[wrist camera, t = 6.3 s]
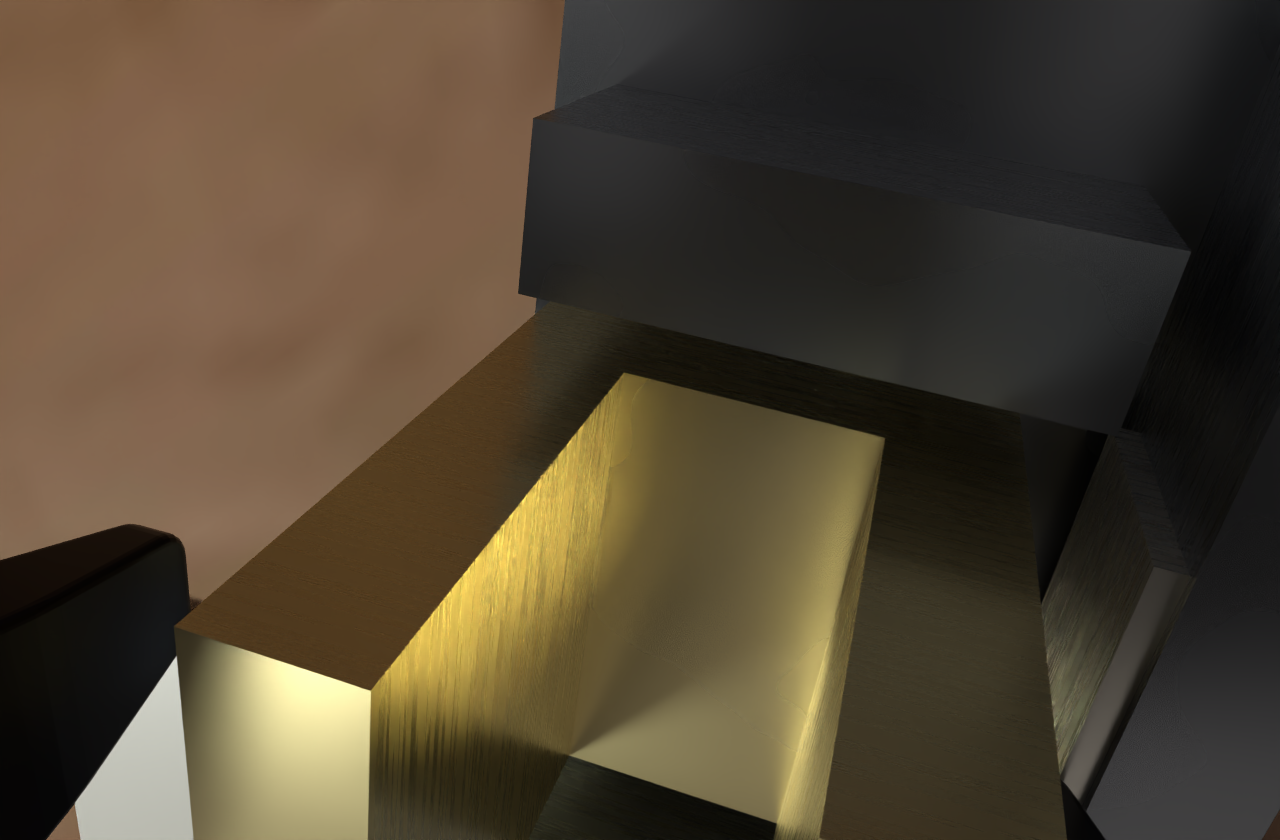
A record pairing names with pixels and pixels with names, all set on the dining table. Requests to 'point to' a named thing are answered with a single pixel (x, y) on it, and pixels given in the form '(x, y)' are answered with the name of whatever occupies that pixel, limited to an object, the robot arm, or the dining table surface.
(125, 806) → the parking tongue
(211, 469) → the dining table surface
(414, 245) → the dining table surface
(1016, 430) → the bracket
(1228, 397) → the rack flange
